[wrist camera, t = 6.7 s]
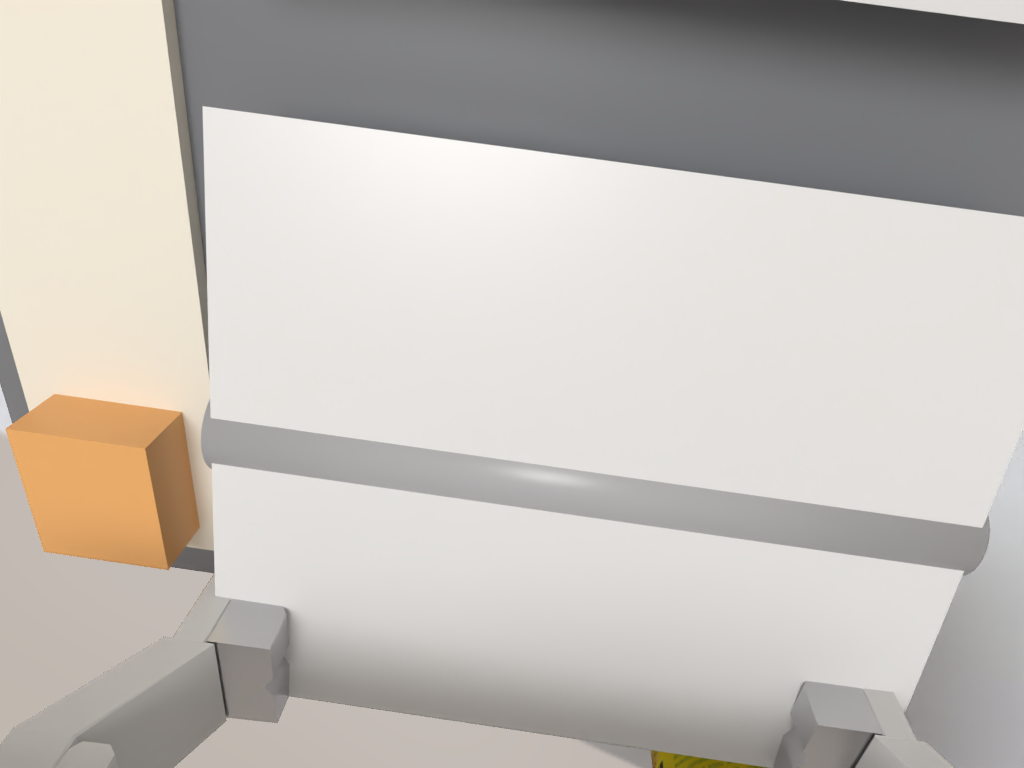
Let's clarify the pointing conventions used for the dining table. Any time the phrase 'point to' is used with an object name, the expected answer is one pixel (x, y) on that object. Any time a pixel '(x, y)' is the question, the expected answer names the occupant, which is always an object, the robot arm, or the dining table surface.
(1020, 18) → the rocker
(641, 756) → the dining table surface
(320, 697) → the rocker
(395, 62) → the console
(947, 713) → the dining table surface
